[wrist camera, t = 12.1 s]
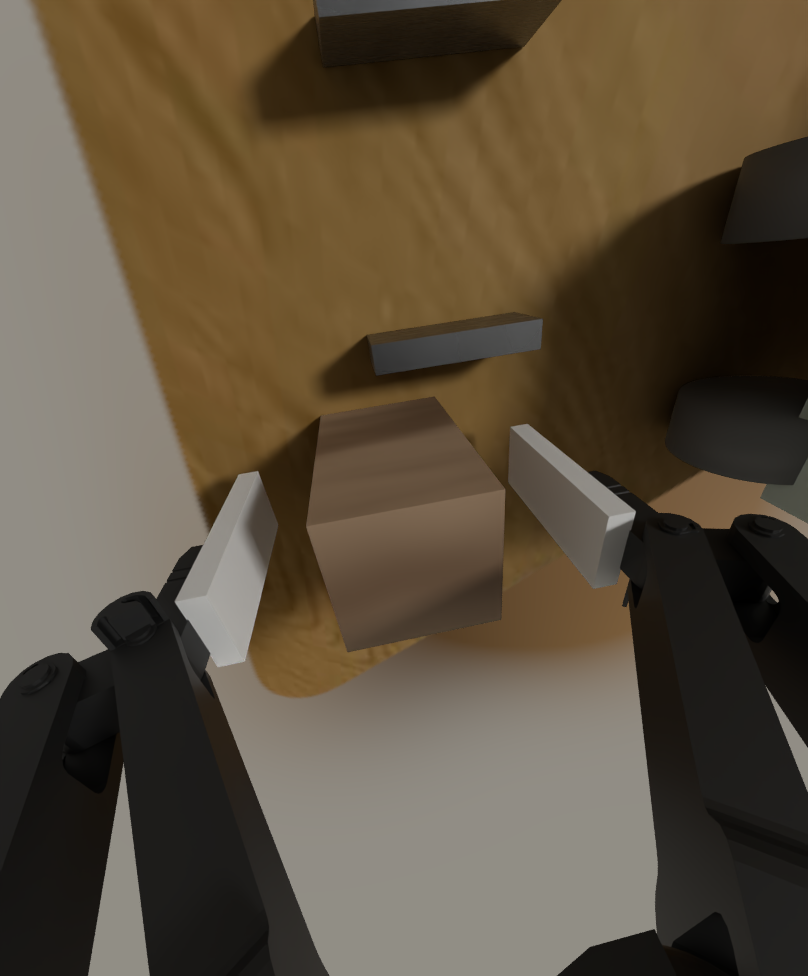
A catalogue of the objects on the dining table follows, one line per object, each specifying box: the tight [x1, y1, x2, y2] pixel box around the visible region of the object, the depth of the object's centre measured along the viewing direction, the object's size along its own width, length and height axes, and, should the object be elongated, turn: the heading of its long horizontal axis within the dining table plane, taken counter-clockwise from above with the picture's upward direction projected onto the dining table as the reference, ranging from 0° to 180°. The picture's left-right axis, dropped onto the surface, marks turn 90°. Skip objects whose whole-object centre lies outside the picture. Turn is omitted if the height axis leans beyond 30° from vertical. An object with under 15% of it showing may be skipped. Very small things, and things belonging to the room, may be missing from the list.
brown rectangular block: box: [306, 397, 505, 652], centre depth 14 cm, size 5×5×8 cm
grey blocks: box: [313, 0, 561, 376], centre depth 11 cm, size 9×6×2 cm, turn 7°
